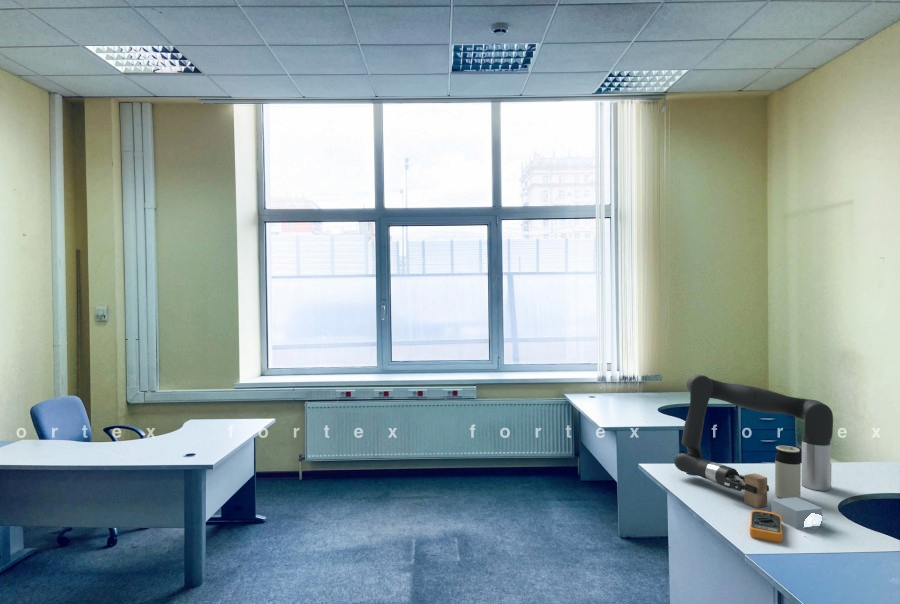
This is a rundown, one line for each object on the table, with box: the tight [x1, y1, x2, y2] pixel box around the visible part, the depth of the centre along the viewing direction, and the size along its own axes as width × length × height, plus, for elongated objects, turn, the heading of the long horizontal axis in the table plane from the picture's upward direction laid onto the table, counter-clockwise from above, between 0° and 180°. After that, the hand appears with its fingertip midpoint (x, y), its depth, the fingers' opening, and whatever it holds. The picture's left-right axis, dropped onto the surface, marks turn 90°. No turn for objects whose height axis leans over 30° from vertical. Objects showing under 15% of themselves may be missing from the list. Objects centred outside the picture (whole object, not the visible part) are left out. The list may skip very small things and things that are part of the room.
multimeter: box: [749, 509, 783, 544], centre depth 172 cm, size 9×18×3 cm, turn 150°
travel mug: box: [774, 445, 802, 499], centre depth 200 cm, size 8×8×18 cm
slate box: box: [771, 497, 824, 530], centre depth 178 cm, size 10×10×6 cm
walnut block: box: [743, 473, 768, 509], centre depth 192 cm, size 5×5×10 cm
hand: (762, 489), depth 190 cm, fingers closed on walnut block, 5 cm apart
